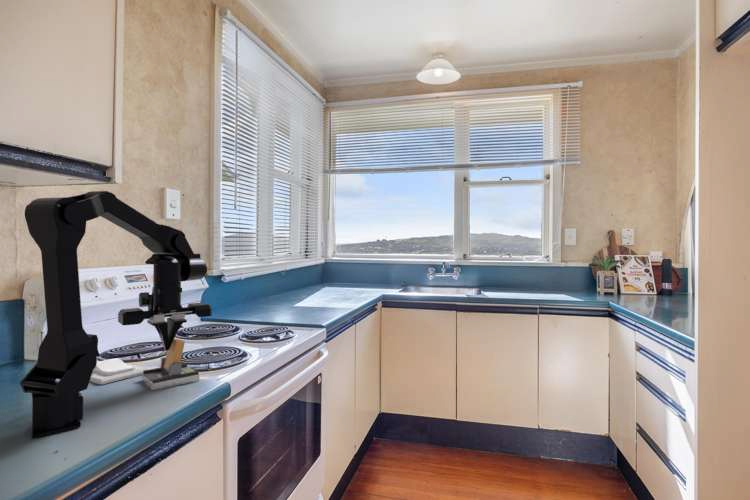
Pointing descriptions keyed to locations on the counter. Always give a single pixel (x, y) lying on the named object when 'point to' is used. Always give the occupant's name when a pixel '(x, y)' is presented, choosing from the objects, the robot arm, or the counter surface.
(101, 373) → the light switch
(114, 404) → the counter surface
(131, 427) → the counter surface
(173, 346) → the lever
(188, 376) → the toggle switch base
